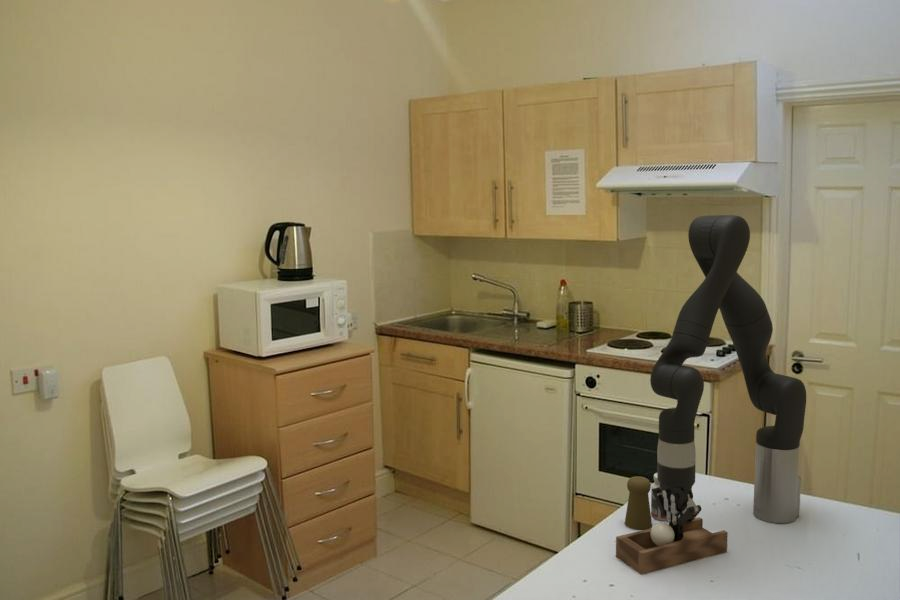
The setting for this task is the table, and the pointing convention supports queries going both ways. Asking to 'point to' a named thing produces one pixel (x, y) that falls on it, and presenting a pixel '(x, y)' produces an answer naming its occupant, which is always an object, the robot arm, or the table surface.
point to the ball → (662, 534)
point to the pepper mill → (638, 504)
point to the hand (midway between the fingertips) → (675, 539)
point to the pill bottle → (654, 506)
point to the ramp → (669, 548)
